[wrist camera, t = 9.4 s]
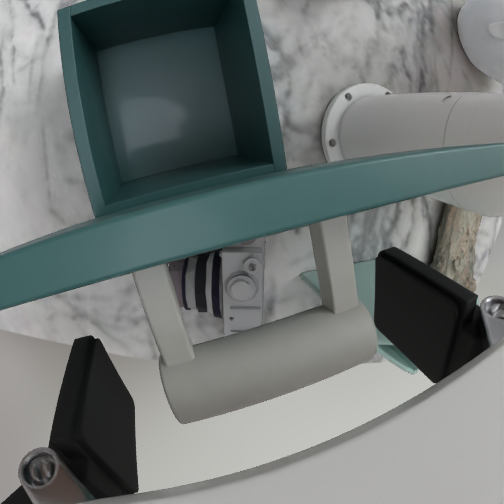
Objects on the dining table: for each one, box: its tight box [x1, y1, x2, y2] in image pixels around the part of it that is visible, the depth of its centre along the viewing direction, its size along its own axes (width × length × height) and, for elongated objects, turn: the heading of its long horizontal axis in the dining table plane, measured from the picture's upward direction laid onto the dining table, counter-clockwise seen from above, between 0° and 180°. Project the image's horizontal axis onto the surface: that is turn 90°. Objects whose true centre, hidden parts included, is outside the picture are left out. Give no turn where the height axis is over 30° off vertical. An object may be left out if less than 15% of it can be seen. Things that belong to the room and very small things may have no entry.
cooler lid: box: [0, 143, 504, 424], centre depth 12 cm, size 16×13×5 cm
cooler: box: [57, 0, 287, 218], centre depth 22 cm, size 15×13×11 cm
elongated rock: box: [430, 203, 482, 293], centre depth 41 cm, size 35×5×10 cm
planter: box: [301, 259, 479, 374], centre depth 31 cm, size 16×8×20 cm, turn 92°
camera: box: [169, 237, 266, 337], centre depth 29 cm, size 16×9×10 cm, turn 179°
